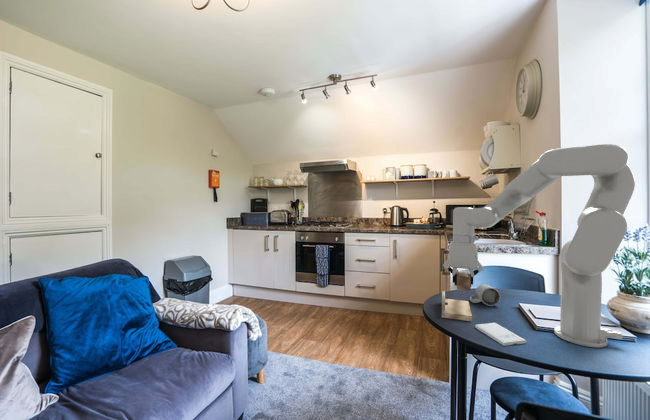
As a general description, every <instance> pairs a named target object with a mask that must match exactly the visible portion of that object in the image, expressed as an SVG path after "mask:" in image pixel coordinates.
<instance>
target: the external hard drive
mask: <svg viewBox="0 0 650 420" xmlns="http://www.w3.org/2000/svg"><path fill="white" fill-rule="evenodd" d="M474 326H475V329H477V330H478V331H480V332H481V333H483V334H484V335H485V336H487V337H489V338H491V339H492V340H494V341H495V342H497V343H499V344H500V345H502V346H513V345H520V344H528V343H527V341H528V340H527V339H524V338H523V337H521V336H519V335H517V333H514V332H512V331H511V330H510V329H509V330H508V329H507V328H506V327H503V326H501V325H500V324H499V323H497V322H488V323H477V324H475V325H474Z"/></svg>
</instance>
